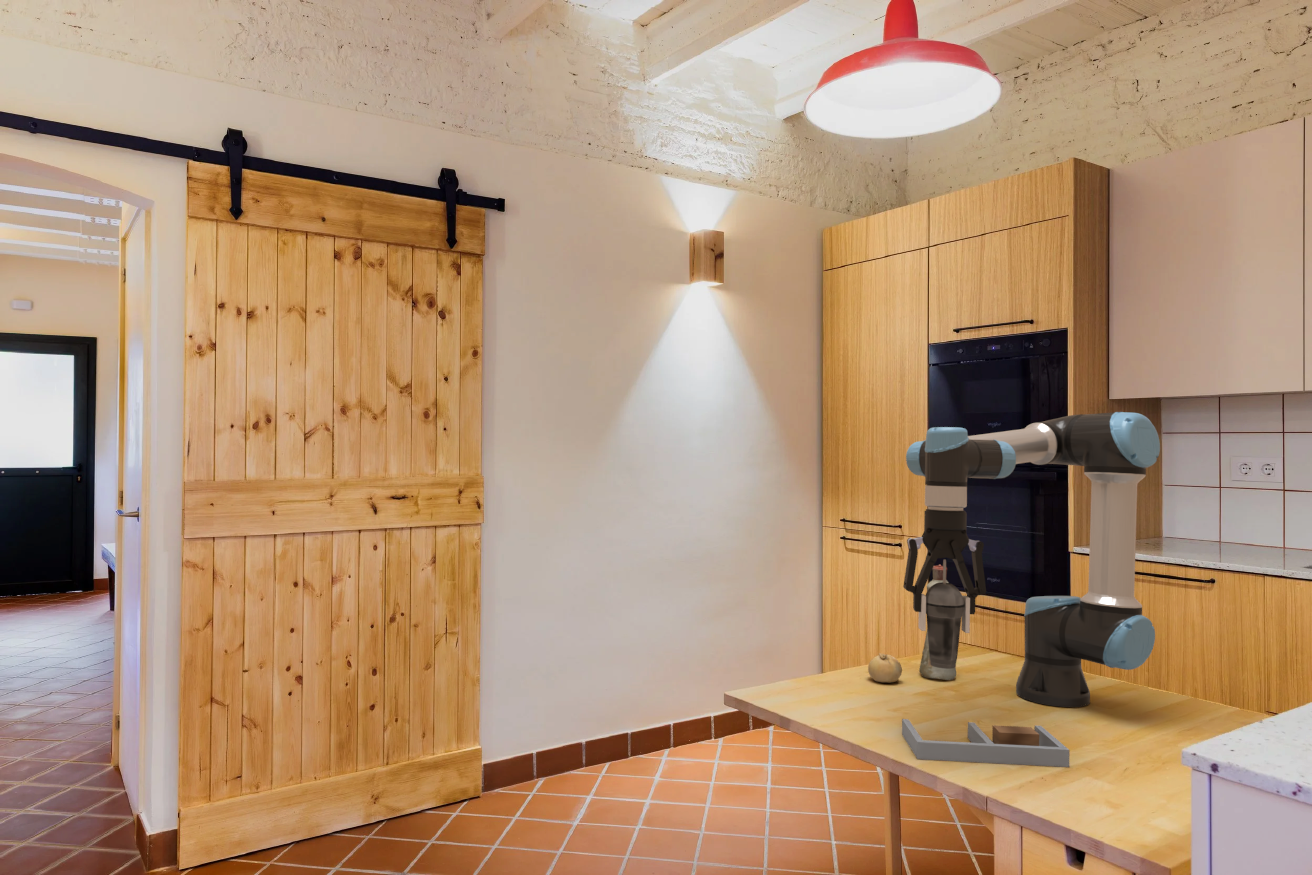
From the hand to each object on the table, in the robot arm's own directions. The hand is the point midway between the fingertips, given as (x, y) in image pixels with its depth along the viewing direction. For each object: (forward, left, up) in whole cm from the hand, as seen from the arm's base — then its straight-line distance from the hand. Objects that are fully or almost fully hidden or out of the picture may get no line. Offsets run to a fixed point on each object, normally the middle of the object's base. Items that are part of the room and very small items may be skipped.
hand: (943, 630), depth 151 cm
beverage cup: (0, 0, -7) cm, 7 cm away
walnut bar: (-13, +1, -22) cm, 25 cm away
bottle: (-12, -50, -22) cm, 56 cm away
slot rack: (-7, +1, -21) cm, 22 cm away
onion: (+2, -44, -22) cm, 49 cm away
